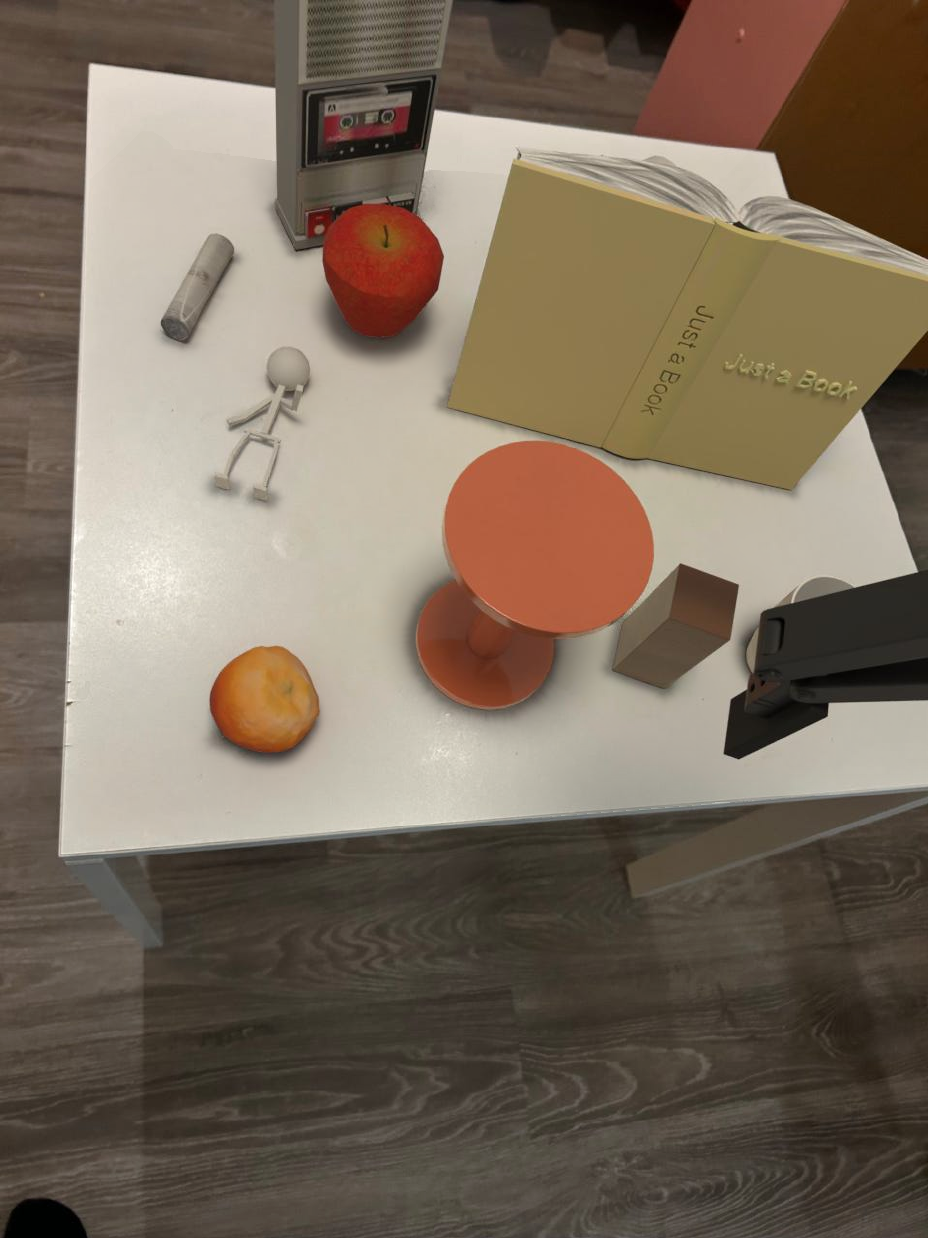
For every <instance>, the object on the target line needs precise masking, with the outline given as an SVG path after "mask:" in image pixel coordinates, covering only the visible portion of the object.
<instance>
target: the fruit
mask: <svg viewBox="0 0 928 1238" xmlns="http://www.w3.org/2000/svg"><path fill="white" fill-rule="evenodd" d="M208 701H209V711H210V714H211V716H212V719H213V721H214V723H215V725H216V726H217V728H218V730H219V731H220V732H221V734H222V735H221V736H220V737H219V739H220V740H223V739H225V738H226V739H228V740H229V741H230V742H232V743H233V744H234V745H237V746H239V747H241V748H243V749H246V750H249V751H254V752H258V753H265V754H267V753H281V752H284V751H287V750H290V749H293V748H294V747H295V746H297V744H299V743H300V742H301V741H302V740H303V739H304V738H305V737H306V736H307V735H308V734H309V732H310V731H311V730H312V728H313V726H314V724H315V723H316V721H317V719H318V717H319V715H320V712H321V710H320V698H319V695H318V692H317V689H316V688H315V685H314V683H313V680H312V676H311V675H310V673H309V671H308V669H307V668H306V666H305V664H304V663H303V662H302V661H301V660H300V658H299V657H298V656H296V655H295V654H293V653H292V652H291V651H290V650H289V649H287V648H285V647H284V646H280V645H273V646H263V645H260V646H255V647H252V648H251V649H248V650H246V651H245V652H243V653H241V654H239V655H237V656H236V657H235V658H233V659H231V660H230V661H229V662H228V663H227V664H226V665H225V666H224V667H222V669H221V670H220V672H219V673H218V674H217V676H216V678H215V680H214V682H213V684H212V686H211V689H210V692H209V700H208Z"/></svg>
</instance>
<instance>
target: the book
mask: <svg viewBox="0 0 928 1238" xmlns="http://www.w3.org/2000/svg"><path fill="white" fill-rule="evenodd" d="M515 149H516V151H517V156H516V158H514V157H512V158H513V159H512V162H511V166H510V170H509V173H508V177H507V181H506V185H505V188H504V193H503V196H502V200H501V204H500V207H499V210H498V214H497V218H496V222H495V226H494V229H493V233H492V237H491V241H490V244H489V248H488V252H487V256H486V259H485V263H484V266H483V271H482V274H481V278H480V281H479V286H478V289H477V293H476V296H475V301H474V305H473V308H472V312H471V316H470V318H469V323H468V327H467V330H466V334H465V337H464V342H463V346H462V349H461V352H460V356H459V359H458V360H459V361H458V363H457V367H456V371H455V375H454V379H453V383H452V386H451V391H450V394H449V398H448V401H447V406H446V407H447V408H449V409H453V410H457V411H461V412H464V413H469V414H472V415H476V416H479V417H483V418H487V419H490V420H494V421H499V422H502V423H505V424H509V425H513V426H517V427H521V428H525V429H528V430H532V431H537V432H539V433H543V434H548V435H551V436H555V437H559V438H563V439H566V440H570V441H574V442H578V443H582V444H585V445H590V446H592V447H596V448H603V449H604V450H606V451H608V452H610V453H612V454H615V455H618V456H621V457H624V458H628V459H634V460H640V459H642V460H643V459H649V460H653V461H658V462H662V463H667V464H672V465H677V466H681V467H685V468H690V469H695V470H699V471H704V472H709V473H712V474H717V475H722V476H726V477H730V478H735V479H740V480H744V481H748V482H753V483H757V484H762V485H767V486H772V487H775V488H781V489H785V490H789V491H792V490H793V489H794V488H795V486H797V484H798V483H799V482H800V481H801V480H802V478H803V477H804V476H805V475H806V474H807V473H808V471H809V470H810V469H811V468H812V467H813V465H814V464H815V463H816V462H817V461H818V460H819V458H820V457H822V455H823V454H824V453H825V451H827V449H828V448H829V447H830V446H831V444H832V443H833V442H834V441H835V440H836V439H837V437H838V436H839V435H840V434H841V433H842V431H844V429H845V428H846V427H847V426H848V425H849V423H850V422H851V421H852V420H853V419H854V418H855V416H856V415H858V413H859V411H860V410H861V409H863V407H864V406H865V404H866V403H867V402H868V401H869V400H870V399H871V397H872V396H874V394H875V393H876V391H877V390H878V389H879V388H880V387H881V386H882V384H883V383H885V381H886V380H887V379H888V378H889V376H890V375H891V374H892V373H893V372H894V371H895V369H896V368H897V367H898V366H899V364H901V363H902V361H903V360H904V359H905V358H906V356H907V355H908V354H909V353H910V352H911V350H912V349H913V348H914V347H915V346H916V345H917V343H919V341H921V339H922V338H923V337H924V336H925V334H926V333H927V332H928V259H927V258H926V257H922V256H921V255H919V254H916V253H914V252H912V251H909V250H908V249H905V248H904V247H903V248H902V247H900V246H898V245H897V244H894V243H892V242H890V241H887V240H886V239H884V238H881V237H879V236H877V235H874V234H873V233H870V232H868V231H866V230H864V229H861V228H860V227H857V226H855V225H853V224H851V223H848V222H847V221H844V220H842V219H840V218H838V217H835V216H833V215H831V214H829V213H827V212H825V211H822V210H819V209H817V208H815V207H813V206H811V205H808V204H805V203H801V202H800V201H796V200H793V199H791V198H786V197H783V196H779V195H778V196H777V195H776V196H774V195H766V196H765V195H764V196H759V197H756V198H753V199H751V200H749V201H748V202H746V203H744V204H743V205H742V206H741V207H740V209H739V211H738V210H737V208H736V206H735V205H734V204H733V203H732V202H731V200H730V199H729V198H728V197H727V196H726V195H725V193H723V192H722V191H721V190H720V189H719V188H717V186H715V185H714V184H712V183H711V182H710V181H708V180H707V179H705V178H704V177H702V176H701V175H699V174H697V173H695V172H694V171H691V170H688V169H685V168H682V167H680V166H677V165H676V166H677V167H676V166H671V165H667V164H662V163H657V162H651V161H643V160H644V159H642V160H641V159H634V158H626V157H625V158H624V157H617V156H607V155H604V156H601V155H596V154H586V153H578V152H577V153H576V152H566V151H557V150H549V149H548V150H547V149H540V148H529V147H521V146H516V147H515ZM606 156H607V157H606Z"/></svg>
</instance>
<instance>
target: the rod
mask: <svg viewBox="0 0 928 1238" xmlns="http://www.w3.org/2000/svg"><path fill="white" fill-rule="evenodd" d="M234 254H235V246H234V244H233V243H232V241H231V240H230V239H229V238H227V237H226V236H224V235H222V234H220V233H217V232H215V233H210V234H208V236H207V237H206V239H205V241H204V242H203V244H202V246H201V248H200V249H199V252H198V254H197V255H196V257H195V258H194V260H193V263H192V264H191V266H190V268H189V270H188V272H187V273H186V275H185V276H184V278H183V280H182V282H181V284H180V286H179V288H178V289H177V291H176V293H175V295H174V296H173V298H172V300H171V301H170V304H169V305H168V307H167V309H166V310H165V312H164V313H163V316H162V318H161V320H160V326H161V328H162V329H163V331H164V333H165V334H166V335H167V336H169V337H170V338H171V339H173V340H175V341H184V340H186V339H187V338H188V337H189V336H190V334H191V332H192V331H193V328H194V327H195V325H196V323H197V320H198V318H200V317H199V316H200V315H201V313H202V311H203V310H204V307H205V306H206V304H207V302H208V300H209V299H210V296H211V295H212V292H213V291H214V289H215V287H216V285H217V284H218V281H219V280H220V278H221V277H222V275H223V272H224V271H225V269H226V267H227V266H228V264H229V262H230V260H231V259H232V257H233V255H234Z"/></svg>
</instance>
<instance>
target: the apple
mask: <svg viewBox="0 0 928 1238" xmlns="http://www.w3.org/2000/svg"><path fill="white" fill-rule="evenodd" d="M440 243H441V242H440V240H439V238H438V237H437V236H436V235H435V233H434V232H433V231H432V229H430V227H429V226H428V225H427V224H426V223H425V221H424V220H423V219H422V218H421V217H420V215H419V216H417V215H415V214H413V213H411V212H410V211H408V210H406V209H404V208H401V207H396V206H391V205H386V204H363V205H359V206H356V207H352V208H350V209H348V210H346V211H345V212H343V213H342V214H341V215H340V216H339V217H338V218H337V219H336V220H335V221H334V222H333V223H332V224H331V225H330V226H329V228H328V231H327V234H326V237H325V240H324V242H323V245H322V259H321V261H322V268H323V271H324V272H323V273H324V277H325V281H326V283H327V286H328V288H329V290H330V292H331V294H332V296H333V299H334V301H335V302H336V305H337V307H338V309H339V311H340V313H341V315H342V317H343V319H344V321H345V323H346V324H347V325H348V326H349V327H350V328H351V330H352V331H354V332H356V333H358V334H360V335H363V336H364V337H371V338H390V337H393V336H396V335H398V334H400V333H402V332H403V331H404V330H406V328H407V327H409V325H411V324H412V323H413V322H414V321H415V320H416V319H417V317H418V316H419V315H420V314H421V312H423V310H424V309H425V307H427V305H428V303H429V302H430V301H431V300H432V299H433V297H434V296H435V295H436V294H437V292H438V291H439V287H440V281H441V276H442V272H443V271H442V270H443V265H444V259H445V255H444V252H443V250H442V249H443V248H442V247H441V244H440Z"/></svg>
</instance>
